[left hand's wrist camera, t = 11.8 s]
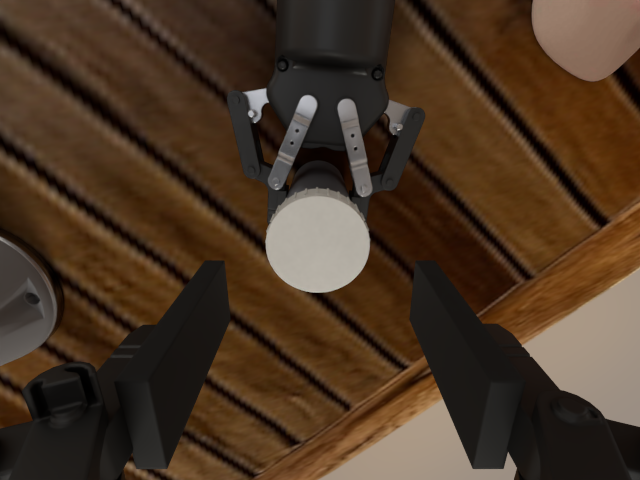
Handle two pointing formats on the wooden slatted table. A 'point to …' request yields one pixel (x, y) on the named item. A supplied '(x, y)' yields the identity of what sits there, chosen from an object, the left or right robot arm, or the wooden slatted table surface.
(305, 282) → the lid
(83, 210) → the wooden slatted table surface
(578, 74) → the anatomical model
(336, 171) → the jar
